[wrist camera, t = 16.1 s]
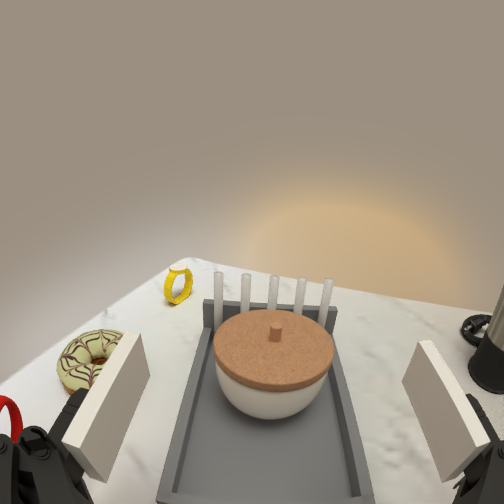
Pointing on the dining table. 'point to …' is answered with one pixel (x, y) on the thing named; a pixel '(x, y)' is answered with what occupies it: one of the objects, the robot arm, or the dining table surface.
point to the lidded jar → (271, 361)
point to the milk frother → (487, 348)
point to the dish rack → (264, 428)
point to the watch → (169, 281)
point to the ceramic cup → (12, 417)
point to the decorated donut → (86, 358)
